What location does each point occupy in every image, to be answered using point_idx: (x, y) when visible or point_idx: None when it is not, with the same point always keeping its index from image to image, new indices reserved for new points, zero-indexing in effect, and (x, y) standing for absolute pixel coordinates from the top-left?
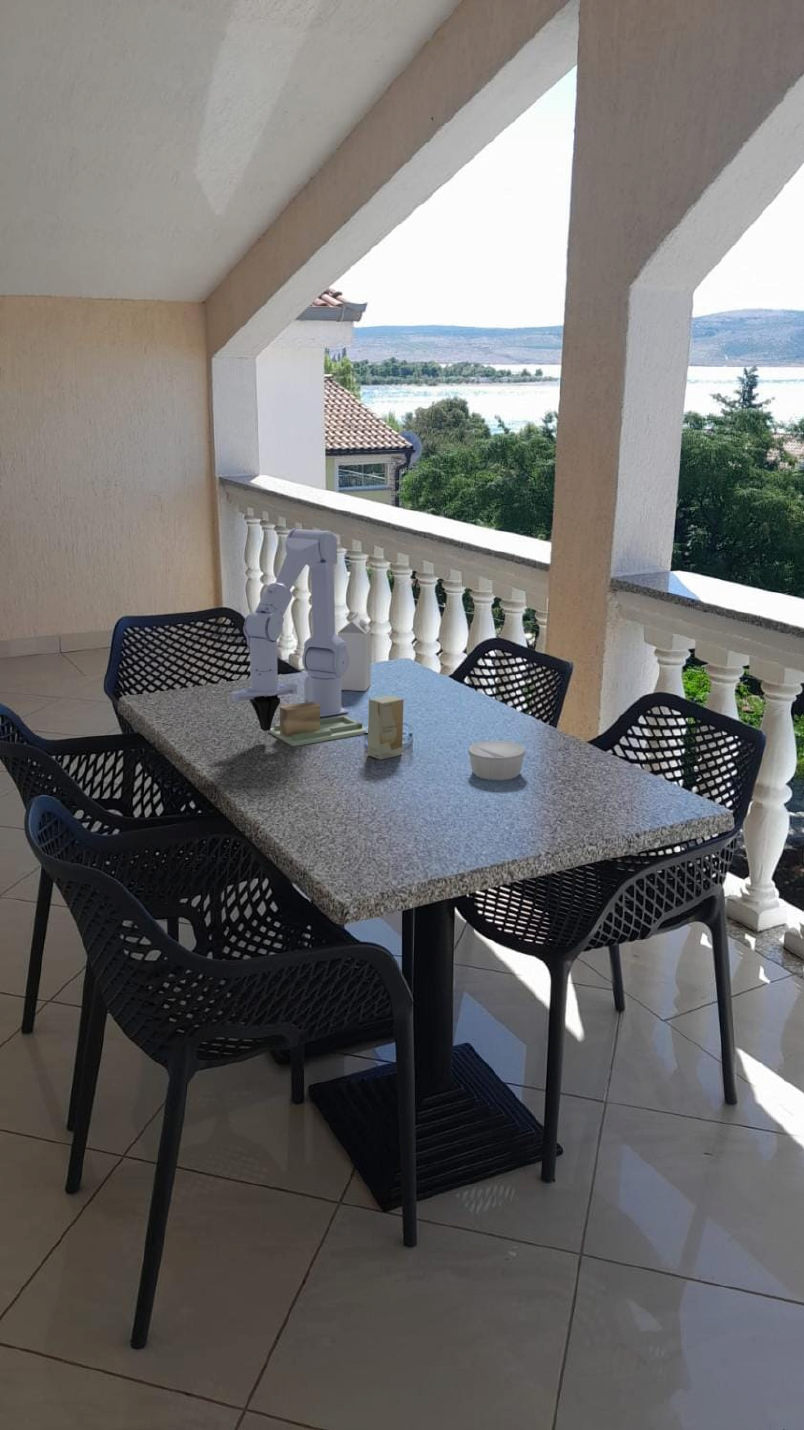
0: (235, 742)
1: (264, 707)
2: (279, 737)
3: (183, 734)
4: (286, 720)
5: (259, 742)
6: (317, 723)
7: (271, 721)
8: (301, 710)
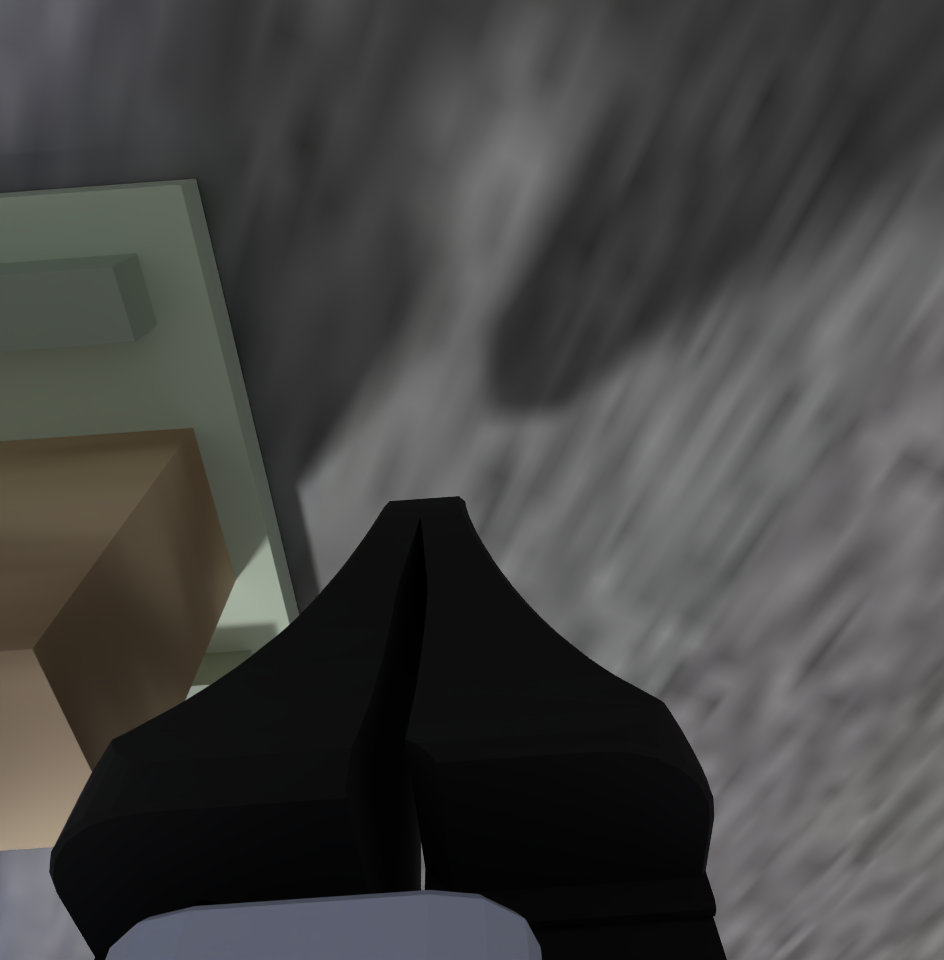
0: (696, 559)
1: (522, 681)
2: (269, 504)
3: (907, 837)
4: (121, 556)
5: (498, 475)
6: None
7: (361, 552)
8: None
